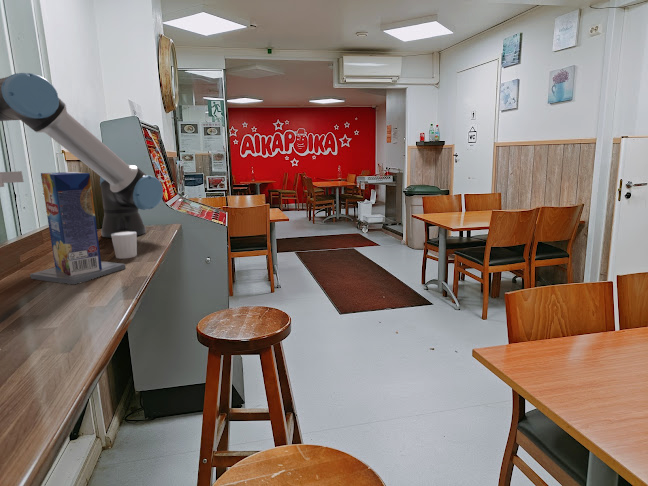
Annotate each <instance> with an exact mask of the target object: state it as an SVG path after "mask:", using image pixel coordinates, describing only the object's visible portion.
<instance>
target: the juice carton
mask: <svg viewBox="0 0 648 486" xmlns="http://www.w3.org/2000/svg"><path fill="white" fill-rule="evenodd" d="M40 177H41V183H42V188H43V189H42V191H43V197H44V202H45V210H46V214H47V215H46V216H47V224H48V230H49V235H50V242H51V243H50V244H51V248H52V255H53V256H52V257H53V263H54V267H56V268H57V269H59V270H60V271H62V272H63V273H65V274H66V275H68V276H72V275H78V274H83V273H88V272H93V271H98V270H102V265H101V261H102V259H101V251H100V245H99V235H98V228H97V220H96V213H95V205H94V203H95V202H94V197H93V189H92V182H91V181H92V180H91V175H90V172H80V171H65V172H64V171H63V172H41V173H40Z"/></svg>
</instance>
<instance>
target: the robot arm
mask: <svg viewBox="0 0 648 486" xmlns="http://www.w3.org/2000/svg"><path fill="white" fill-rule="evenodd" d="M66 104H67V103H65V102H64V101H63V100H62V99H61V98H60V97H59V95H58V91H57V89H56V88H55V87H54V85H53V84H52V83H50V81H49V80H47V79H46V78H44V77H43V76H41V75H38V74H36V73H30V72H17V73H14V74H11V75H9V76H5V77H1V78H0V122H7V121H8V122H9V121H21V122H22V123H24V124H25V125H26V126H28V128H30V129H31V130H33V131H34V132H35V133H44V134H46V135H48V136H49V137H50V138H51V139H52V140H53V141H55V142H56V143H58V144H59V145H60V146H62V147H63V148H64V149H65V150H66V151H68V152H69V153H70V154H72V155H73V156H74V157H75V158H77V160H79V161H81V162H82V163H83V164H84V165H86V166H87V167H88V168H89V169H91V170H92V171H93V172H94V173H95V174H96V175H98V176H99V177H100V178H99V182H100V183H99V186H100V191H101V199H102V207H103V215H104V216H103V220H102V226H101V227H102V228H101V230H100V233H101V237H102V238H109V239H110V238H111V239H112V237H111V234H113V233H117V232H124V231H134V232H137V236H141V235H143V234H146V232H147V231H146V230H147V229H146V225H145V224H144V222H143V219H142V217H141V214H140V210H141V211H142V210H143V211H146V210H152V209H155V208H156V207H157V206H159V205H160V203H161V202H162V200H163V196H164V192H163V191H164V188H163V185H162V183H161V181H160V180H159V179H158V178H157V177H156V176H154V175H150V174H146V173H145V172H144V171H142V170H141V169H140V168H139V167H138V166H137V165H134V164H128V163H126V161H124V160H123V159H122V158H121V157H120V156H118V155H117V154H116V153H115V152H114V151H112V149H110V148H109V147H108V146H107V145H106V144H104V143H103V142H102V141H101V140H100V139H99V138H98V137H96V136H95V134H93V133H92V132H90V130H89V129H87V128H86V127H85V126H84V125H82V124H81V122H79V121H78V120H77V119H76V118H74V117H73V116H72V115H71V114H70V113H69V112H68V111H67V105H66ZM24 182H25V181H24V176H23V171H22V170H20V171H19V170H18V171H0V188H5V184H11V183H24Z"/></svg>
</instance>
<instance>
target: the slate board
mask: <svg viewBox="0 0 648 486" xmlns="http://www.w3.org/2000/svg"><path fill="white" fill-rule="evenodd" d="M101 265H102V270H98V271H93V272H88V273H83V274H78V275H72V276H68V275H66V274H65V273H63V272H62V271H60V270H59V269H57V268H56V267H55V266H54V267H51V268H47V269H43V270H40V271H36V272H33V273H30V274H29V275H30V279H31V280H37V281H45V282H50V283H51V282H52V283H57V282H58V283H59V284H64V283H67V284H66V285H71V284H76V285H78V284H77V283H79V284H81V283H80V282H82V283H86V282H88V281H92V280H94V278H95V279H97V277H98V278H101V277H103V275H104V276H106V274H107V275H110V274H113V273H115V272H119V271H122V270H125V269H126V263H120V262H118V263H117V262H110V261H102V260H101ZM100 276H101V277H100ZM91 279H92V280H91Z"/></svg>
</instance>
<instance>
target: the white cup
mask: <svg viewBox="0 0 648 486" xmlns="http://www.w3.org/2000/svg"><path fill="white" fill-rule="evenodd" d="M111 237H112V238H111V241H112V246H113V250H114V254H115V258H116V259H124V260H125V259H130V258H135V257H137V256H138V253H137V252H138V247H137V246H138V235H137V232H134V231H124V232H117V233H113V234H111Z"/></svg>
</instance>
